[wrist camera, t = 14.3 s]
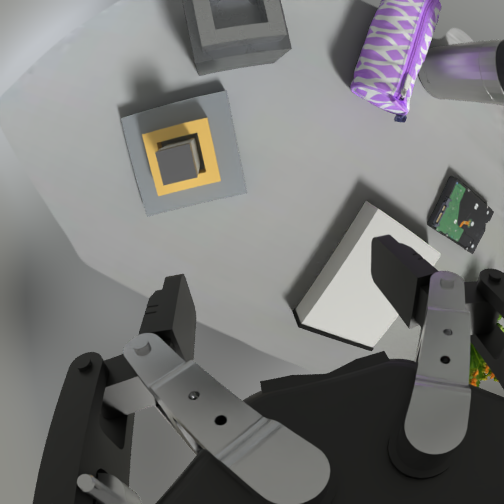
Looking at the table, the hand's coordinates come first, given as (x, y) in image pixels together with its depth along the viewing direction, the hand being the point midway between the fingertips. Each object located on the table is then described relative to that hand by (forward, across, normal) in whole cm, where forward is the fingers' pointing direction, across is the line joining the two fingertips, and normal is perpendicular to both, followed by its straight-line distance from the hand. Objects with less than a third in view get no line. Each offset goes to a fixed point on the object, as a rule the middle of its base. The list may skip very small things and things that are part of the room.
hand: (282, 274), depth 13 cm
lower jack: (+31, +7, -2) cm, 32 cm away
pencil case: (+32, -24, -14) cm, 43 cm away
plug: (+29, +7, -2) cm, 30 cm away
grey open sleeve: (+32, -2, -17) cm, 36 cm away
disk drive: (+33, -40, +16) cm, 54 cm away
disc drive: (+32, -18, +24) cm, 44 cm away
